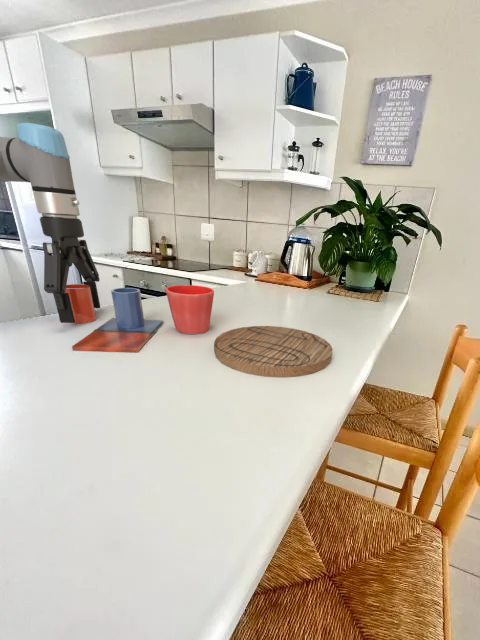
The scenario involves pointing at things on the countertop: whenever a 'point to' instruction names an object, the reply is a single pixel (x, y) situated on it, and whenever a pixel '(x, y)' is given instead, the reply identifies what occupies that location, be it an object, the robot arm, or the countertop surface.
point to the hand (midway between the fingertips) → (82, 314)
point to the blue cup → (128, 307)
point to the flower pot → (190, 307)
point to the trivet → (272, 351)
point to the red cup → (81, 302)
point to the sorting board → (118, 337)
